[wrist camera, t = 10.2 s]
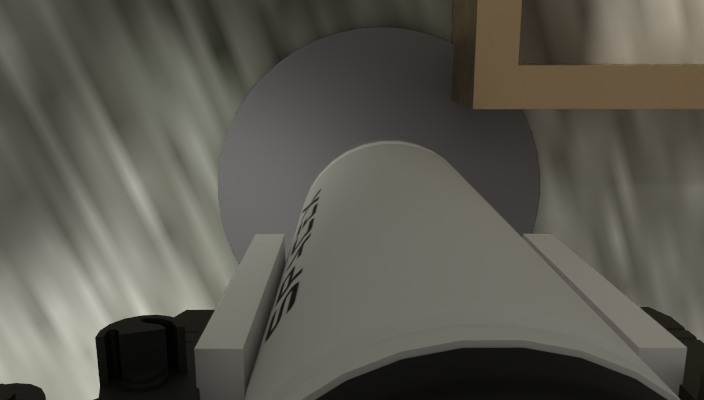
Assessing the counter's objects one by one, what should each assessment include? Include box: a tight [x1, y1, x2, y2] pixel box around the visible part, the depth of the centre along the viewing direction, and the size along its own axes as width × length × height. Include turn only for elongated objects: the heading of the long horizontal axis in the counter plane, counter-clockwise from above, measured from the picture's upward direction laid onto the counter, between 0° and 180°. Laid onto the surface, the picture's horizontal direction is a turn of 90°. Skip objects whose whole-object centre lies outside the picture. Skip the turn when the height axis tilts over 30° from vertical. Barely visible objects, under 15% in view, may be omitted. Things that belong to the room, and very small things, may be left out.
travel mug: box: [244, 138, 680, 400], centre depth 13 cm, size 6×7×20 cm
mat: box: [218, 27, 540, 264], centre depth 27 cm, size 14×14×1 cm
